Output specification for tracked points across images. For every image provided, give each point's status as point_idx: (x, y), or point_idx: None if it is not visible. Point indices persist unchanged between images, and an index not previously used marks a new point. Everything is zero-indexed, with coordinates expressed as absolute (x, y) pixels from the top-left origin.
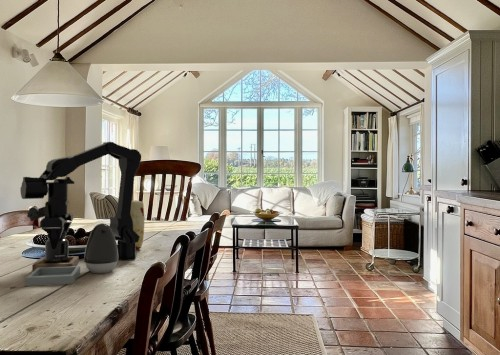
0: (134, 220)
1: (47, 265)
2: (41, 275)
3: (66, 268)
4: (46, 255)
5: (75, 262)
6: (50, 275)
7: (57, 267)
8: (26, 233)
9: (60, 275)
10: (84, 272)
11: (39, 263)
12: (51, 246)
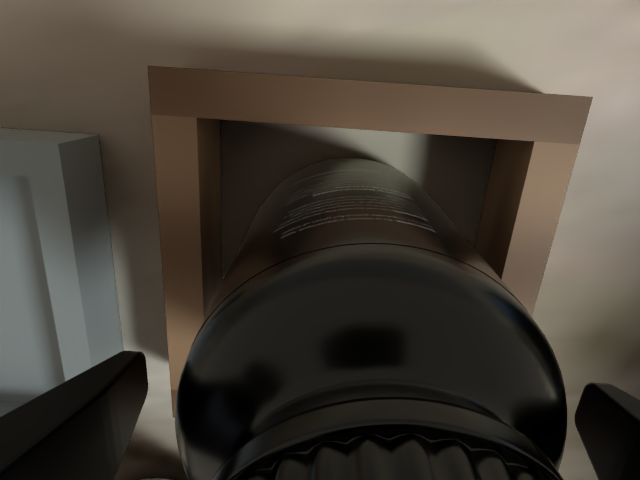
0: None
1: (165, 219)
2: (19, 182)
3: (70, 375)
4: (268, 217)
5: None
6: (21, 251)
7: (60, 317)
8: None
9: (22, 320)
10: (159, 440)
11: (275, 122)
12: (89, 369)
